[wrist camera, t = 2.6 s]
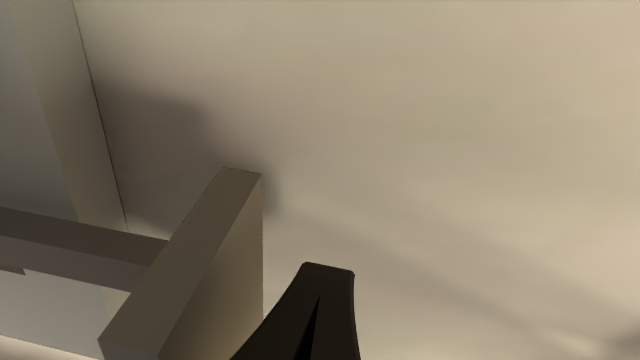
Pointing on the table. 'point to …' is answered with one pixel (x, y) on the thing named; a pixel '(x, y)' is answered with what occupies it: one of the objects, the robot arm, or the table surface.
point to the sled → (162, 272)
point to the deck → (53, 171)
